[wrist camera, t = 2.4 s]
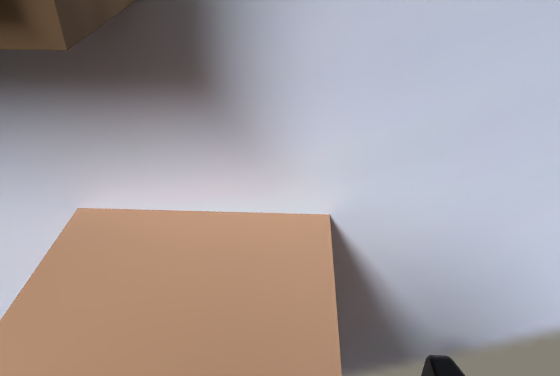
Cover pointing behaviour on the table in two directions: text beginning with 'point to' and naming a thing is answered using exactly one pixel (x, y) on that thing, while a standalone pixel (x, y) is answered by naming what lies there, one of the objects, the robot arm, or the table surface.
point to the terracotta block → (178, 297)
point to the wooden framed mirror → (53, 22)
